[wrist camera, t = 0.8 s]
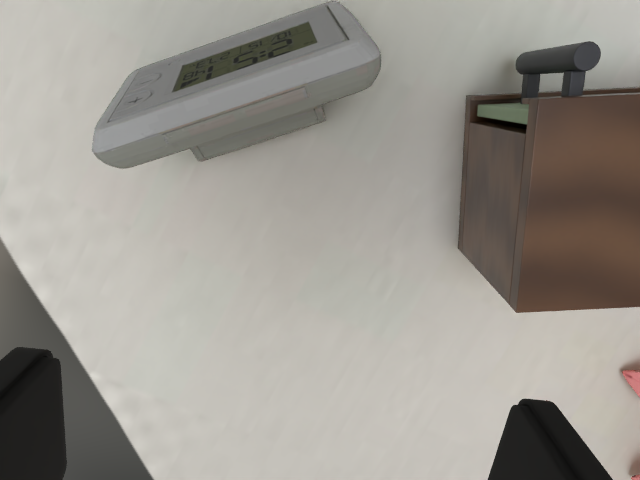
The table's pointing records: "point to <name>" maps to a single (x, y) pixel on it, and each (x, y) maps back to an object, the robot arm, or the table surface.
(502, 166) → the cabinet
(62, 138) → the table surface
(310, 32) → the digital clock
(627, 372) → the figurine
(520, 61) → the sliding door
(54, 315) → the table surface
